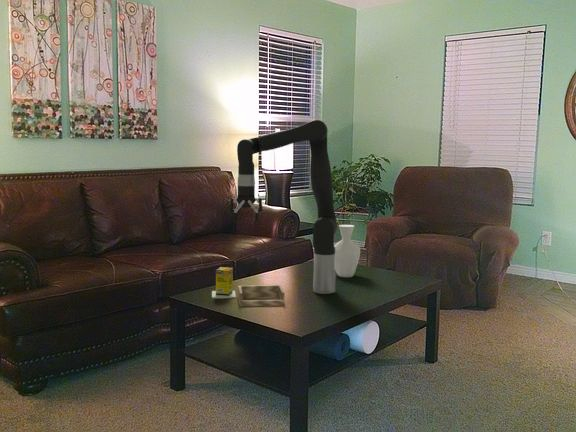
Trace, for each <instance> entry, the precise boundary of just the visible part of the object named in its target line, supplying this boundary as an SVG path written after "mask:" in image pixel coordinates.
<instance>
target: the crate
mask: <svg viewBox="0 0 576 432" xmlns="http://www.w3.org/2000/svg"><path fill="white" fill-rule="evenodd" d="M237 288H238V289H237V290H238V295H237V296H238V303H239V307H262V306H263V305H264V306H265V307H266V306H267V307H268V306H285V303H286V302H285V301H286V300H285V293H286V292H285V291H284V288H283V286H282V285H281V284H275V285H274V284H272V285H271V284H269V285H268V284H267V285H264V284H263V285H238V287H237ZM257 297H258V298H260V297H266V298H278V299H263V300H262V299H261V298H260V299H261V300H259V299H258V300H257ZM247 298H248V300H246V299H247ZM253 298H254V299H253ZM243 299H245V300H243ZM249 299H251V300H249ZM252 299H253V300H252ZM255 299H256V300H255Z"/></svg>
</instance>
